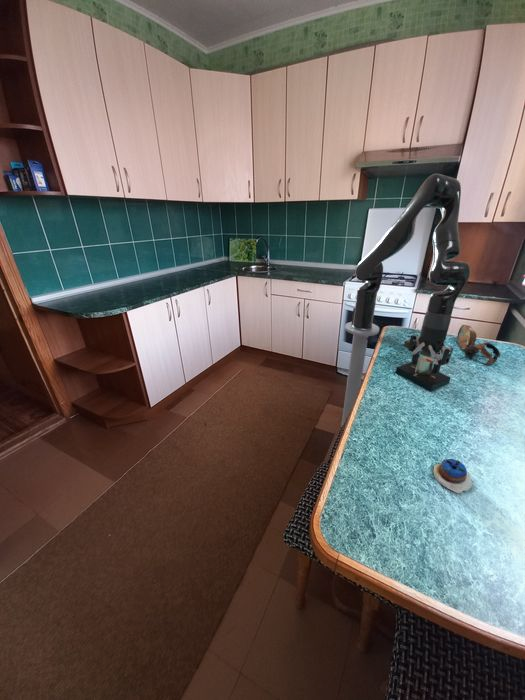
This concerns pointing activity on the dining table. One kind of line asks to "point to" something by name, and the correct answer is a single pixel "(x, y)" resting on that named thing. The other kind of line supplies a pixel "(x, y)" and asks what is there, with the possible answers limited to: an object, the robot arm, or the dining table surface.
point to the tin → (466, 336)
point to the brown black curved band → (483, 352)
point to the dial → (424, 365)
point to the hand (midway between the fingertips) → (424, 367)
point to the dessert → (453, 475)
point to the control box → (423, 377)
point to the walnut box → (417, 346)
